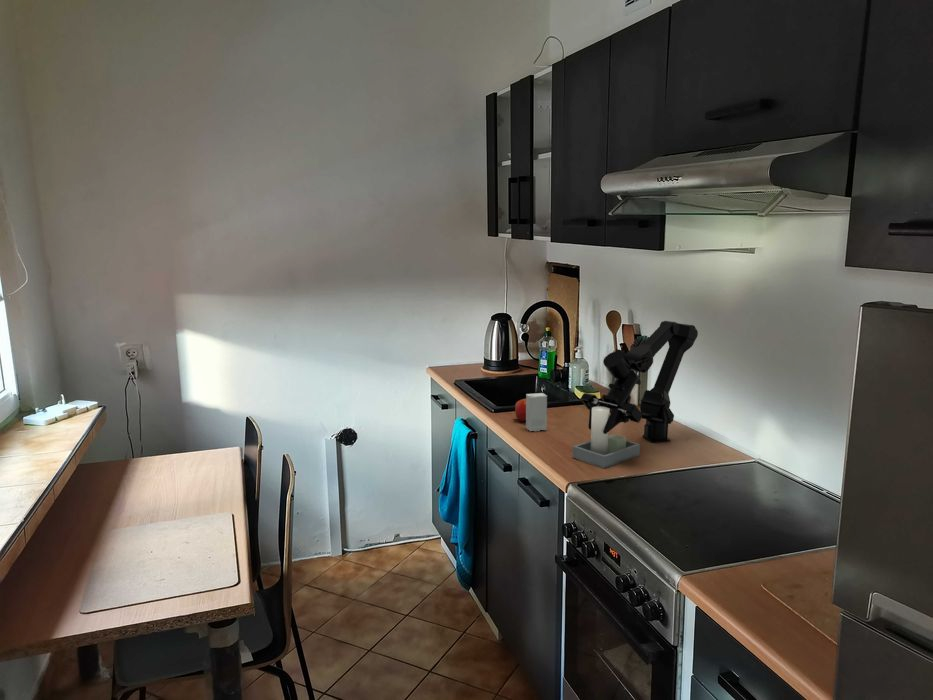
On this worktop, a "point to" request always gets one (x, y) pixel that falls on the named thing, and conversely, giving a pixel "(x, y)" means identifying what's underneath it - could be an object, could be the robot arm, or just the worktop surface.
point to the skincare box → (536, 412)
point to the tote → (608, 459)
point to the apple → (521, 409)
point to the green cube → (616, 443)
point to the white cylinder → (599, 430)
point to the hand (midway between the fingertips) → (596, 431)
